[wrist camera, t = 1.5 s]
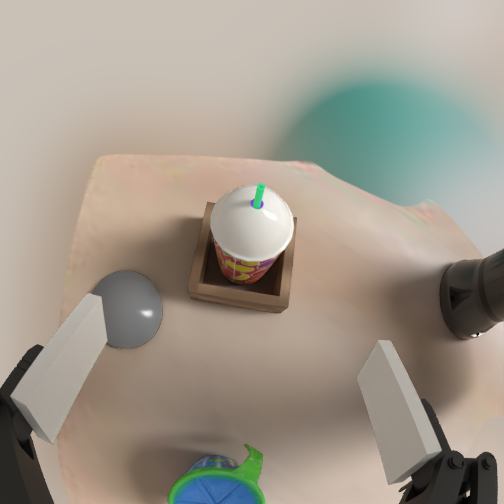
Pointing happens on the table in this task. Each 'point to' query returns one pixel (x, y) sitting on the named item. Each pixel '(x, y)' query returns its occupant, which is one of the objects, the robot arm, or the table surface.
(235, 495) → the snack cup
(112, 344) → the slate coaster
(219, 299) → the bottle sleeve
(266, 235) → the smoothie
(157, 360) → the table surface
